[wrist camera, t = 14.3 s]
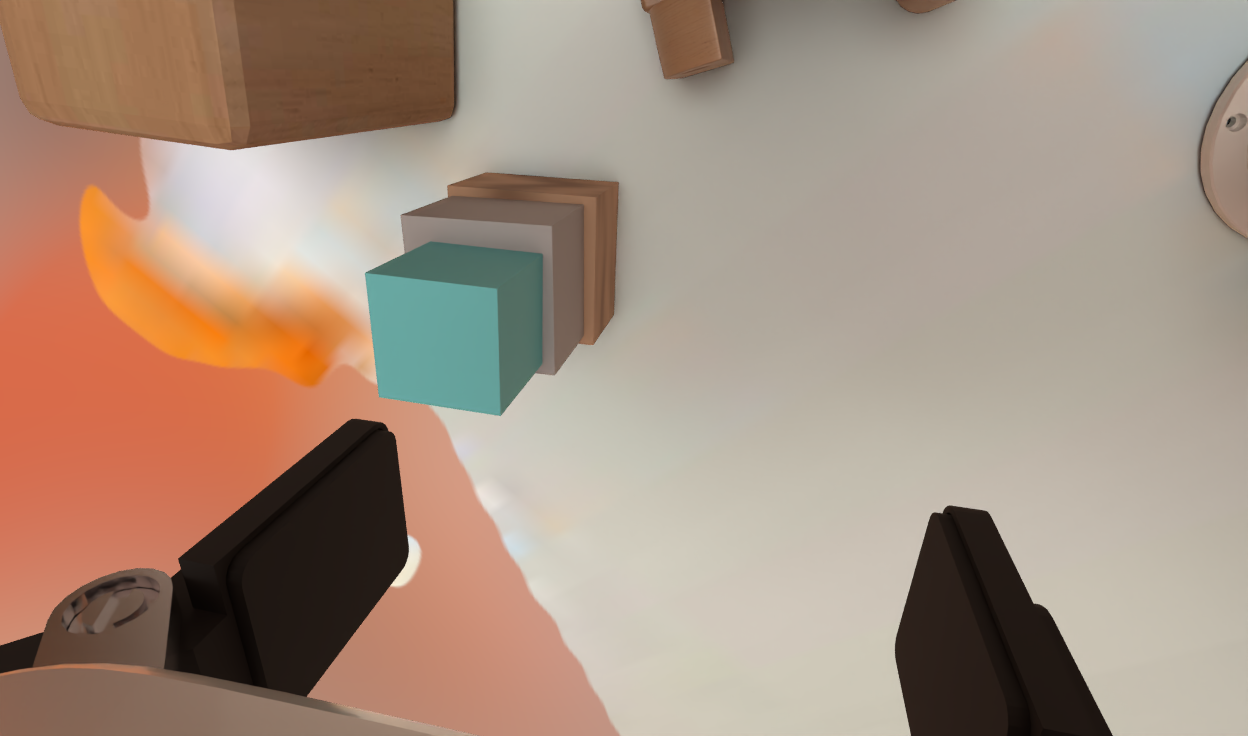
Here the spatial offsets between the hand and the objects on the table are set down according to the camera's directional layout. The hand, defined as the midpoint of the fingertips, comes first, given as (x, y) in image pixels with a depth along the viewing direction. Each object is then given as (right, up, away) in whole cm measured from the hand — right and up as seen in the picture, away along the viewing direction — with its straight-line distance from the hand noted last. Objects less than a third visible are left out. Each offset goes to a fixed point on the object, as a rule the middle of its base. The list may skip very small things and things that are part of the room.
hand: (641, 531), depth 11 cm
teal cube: (-7, +6, +23) cm, 25 cm away
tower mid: (-7, +9, +28) cm, 30 cm away
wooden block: (-15, +24, +30) cm, 42 cm away
